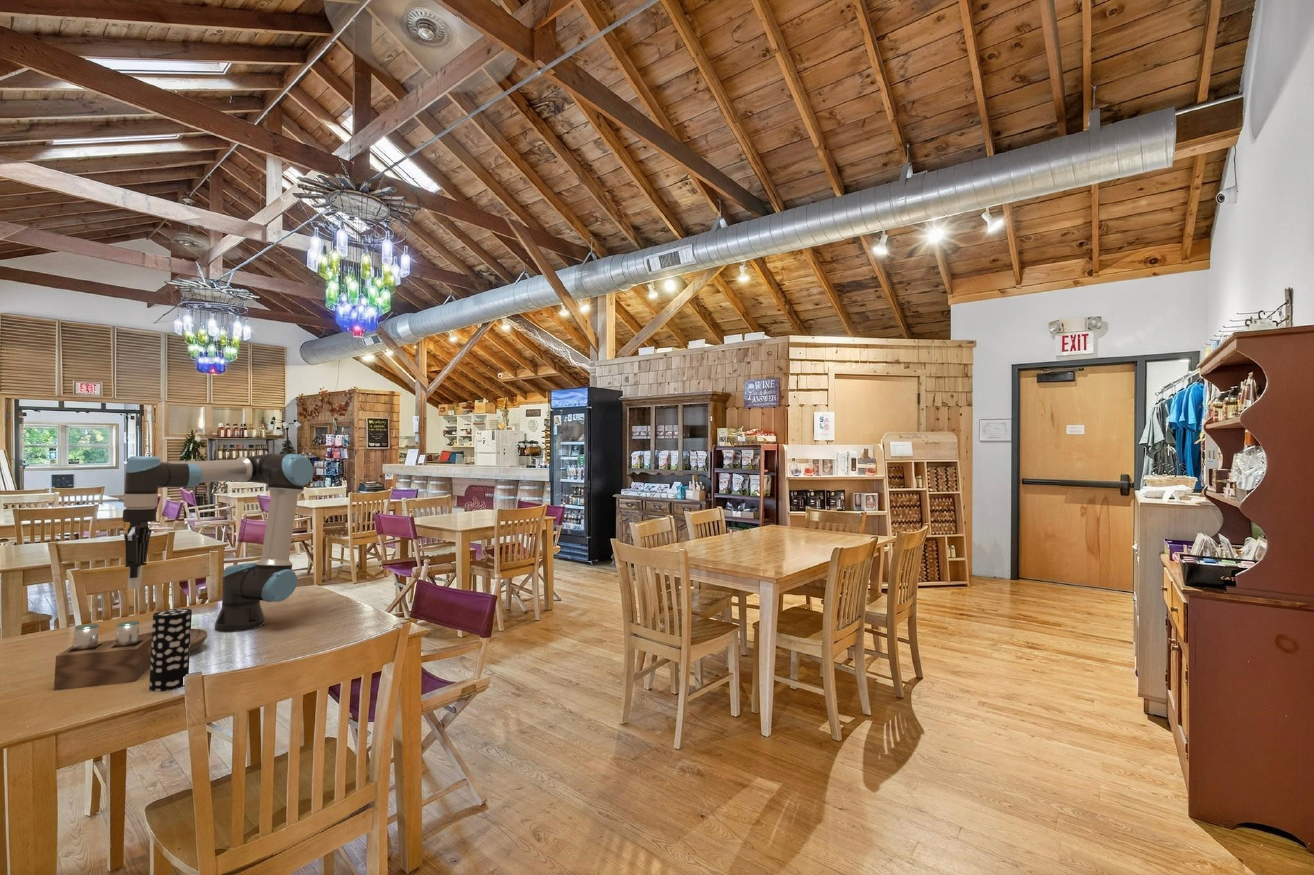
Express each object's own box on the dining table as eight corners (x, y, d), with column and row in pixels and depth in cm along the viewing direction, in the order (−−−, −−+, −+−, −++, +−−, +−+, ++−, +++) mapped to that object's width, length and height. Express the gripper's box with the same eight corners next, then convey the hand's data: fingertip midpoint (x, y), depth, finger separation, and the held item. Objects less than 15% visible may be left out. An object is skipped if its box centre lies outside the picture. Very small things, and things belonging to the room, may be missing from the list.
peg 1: (100, 653, 168) (101, 623, 169) (92, 658, 164) (94, 627, 164) (78, 655, 166) (79, 624, 167) (69, 660, 162) (71, 629, 162)
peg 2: (140, 649, 172) (141, 620, 172) (133, 654, 168) (135, 624, 168) (119, 651, 170) (120, 621, 170) (112, 656, 166) (113, 626, 166)
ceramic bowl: (129, 647, 194) (130, 632, 194) (215, 640, 203) (216, 625, 203) (95, 670, 173) (96, 653, 173) (194, 661, 182) (194, 645, 182)
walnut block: (150, 667, 176) (152, 636, 176) (134, 681, 165) (136, 648, 165) (75, 674, 169) (77, 643, 169) (53, 690, 158) (55, 656, 158)
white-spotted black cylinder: (164, 680, 166) (167, 608, 167) (195, 679, 167) (199, 608, 168) (140, 691, 158) (145, 616, 159) (173, 691, 159) (177, 616, 159)
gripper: (133, 506, 179) (127, 585, 178) (114, 509, 167) (107, 593, 166) (163, 506, 182) (158, 583, 181) (147, 509, 171) (141, 592, 169)
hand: (134, 588), depth 174 cm, fingers closed
